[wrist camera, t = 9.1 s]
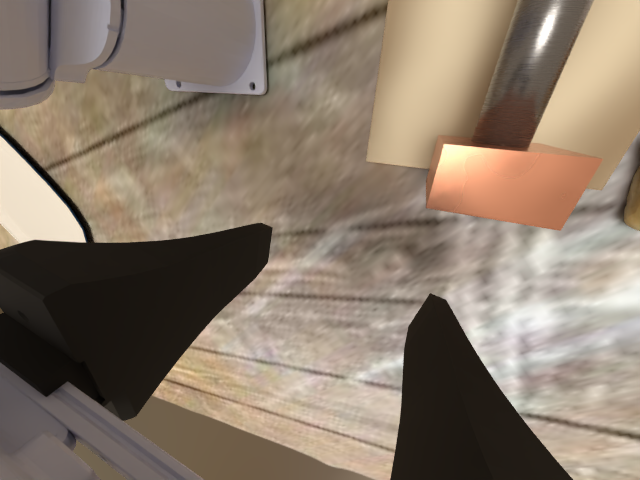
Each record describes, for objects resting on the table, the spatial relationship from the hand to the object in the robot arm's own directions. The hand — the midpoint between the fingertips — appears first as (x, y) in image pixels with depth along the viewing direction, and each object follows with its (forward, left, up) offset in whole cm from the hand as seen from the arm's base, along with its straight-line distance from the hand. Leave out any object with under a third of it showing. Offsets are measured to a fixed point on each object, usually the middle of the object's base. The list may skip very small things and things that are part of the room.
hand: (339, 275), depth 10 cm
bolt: (+5, +8, -7) cm, 12 cm away
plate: (-56, -11, -10) cm, 58 cm away
